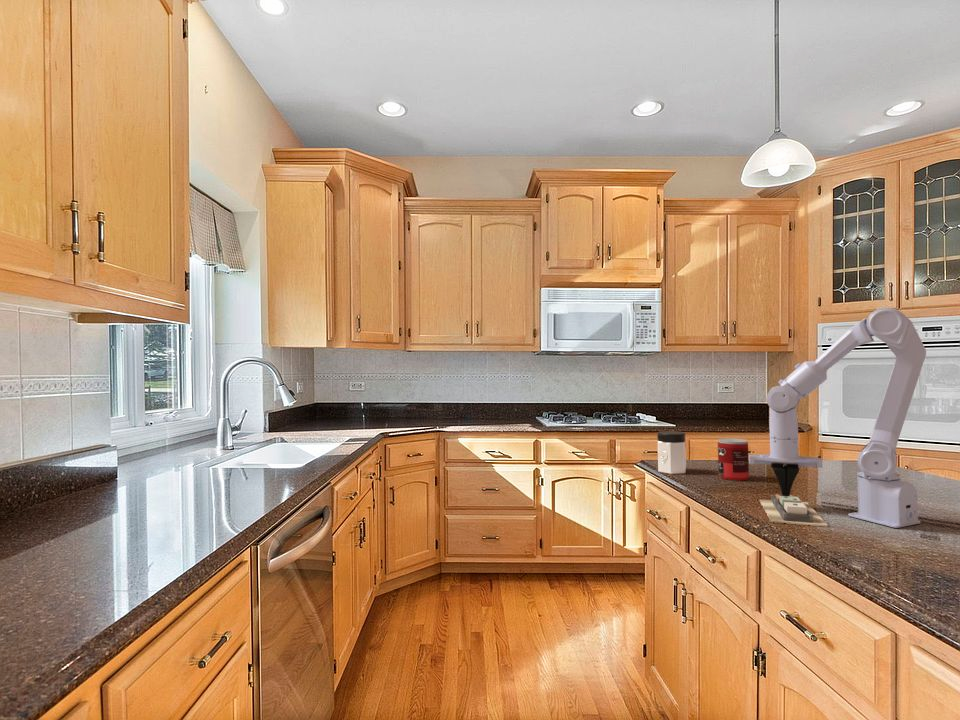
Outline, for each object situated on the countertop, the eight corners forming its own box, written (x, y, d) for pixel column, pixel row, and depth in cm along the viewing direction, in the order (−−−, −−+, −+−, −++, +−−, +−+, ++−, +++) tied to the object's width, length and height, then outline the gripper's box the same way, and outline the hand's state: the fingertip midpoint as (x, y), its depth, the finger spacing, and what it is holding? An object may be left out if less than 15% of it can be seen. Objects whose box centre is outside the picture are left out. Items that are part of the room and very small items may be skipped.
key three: (796, 505, 118) (796, 498, 118) (778, 504, 119) (778, 497, 119) (793, 501, 121) (792, 495, 121) (775, 500, 122) (775, 494, 122)
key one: (807, 514, 107) (807, 507, 107) (787, 513, 109) (787, 505, 109) (803, 509, 111) (803, 502, 111) (784, 508, 112) (783, 501, 112)
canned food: (722, 474, 155) (721, 437, 156) (751, 477, 150) (750, 439, 150) (715, 478, 149) (714, 440, 150) (745, 482, 144) (744, 442, 145)
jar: (651, 470, 162) (650, 432, 162) (667, 467, 167) (666, 430, 167) (677, 475, 155) (676, 435, 155) (692, 471, 160) (691, 432, 160)
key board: (827, 527, 105) (827, 518, 105) (771, 522, 108) (771, 514, 108) (807, 504, 121) (807, 496, 121) (759, 500, 125) (759, 493, 125)
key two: (801, 507, 113) (801, 500, 113) (782, 506, 114) (782, 499, 114) (797, 503, 116) (797, 496, 116) (779, 502, 117) (779, 495, 117)
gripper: (817, 436, 121) (818, 495, 121) (747, 434, 127) (748, 490, 127) (823, 440, 114) (825, 502, 114) (749, 438, 120) (751, 497, 120)
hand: (785, 496), depth 120 cm, fingers closed, pressing on key three
